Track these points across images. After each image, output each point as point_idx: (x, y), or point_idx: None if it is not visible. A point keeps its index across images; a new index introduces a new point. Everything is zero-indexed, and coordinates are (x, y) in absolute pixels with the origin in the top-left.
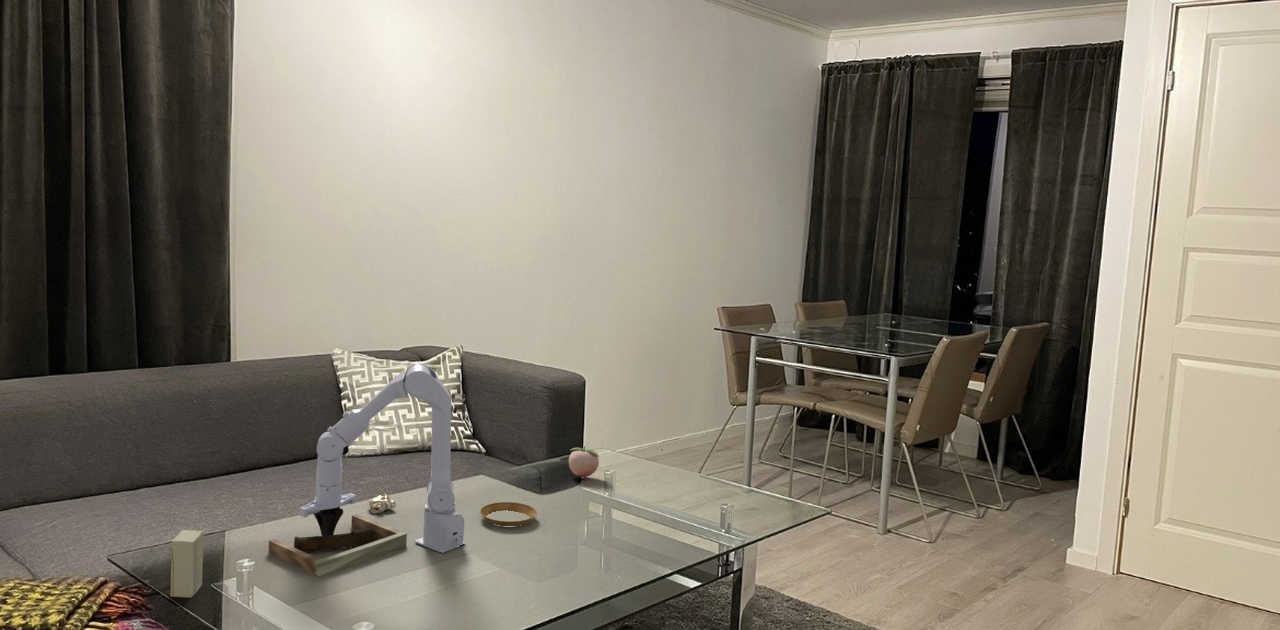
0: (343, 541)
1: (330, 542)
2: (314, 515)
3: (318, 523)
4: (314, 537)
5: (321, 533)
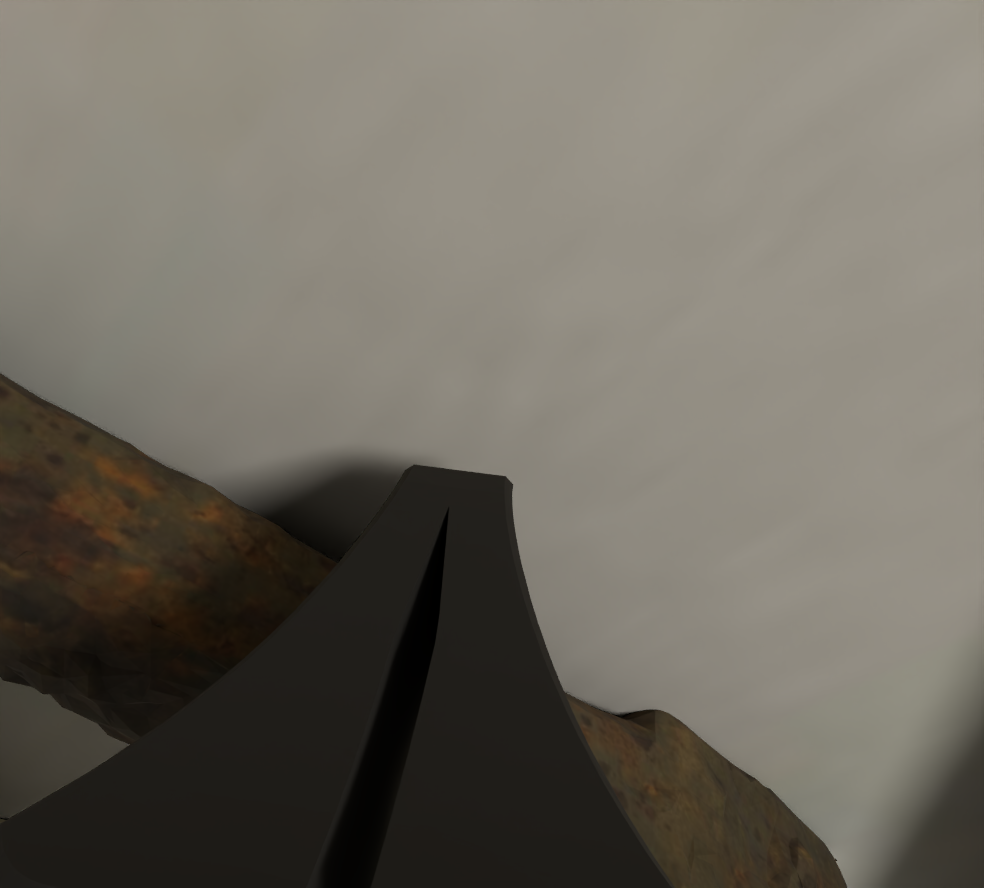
0: None
1: None
2: (78, 786)
3: (257, 653)
4: (44, 691)
5: (380, 516)
